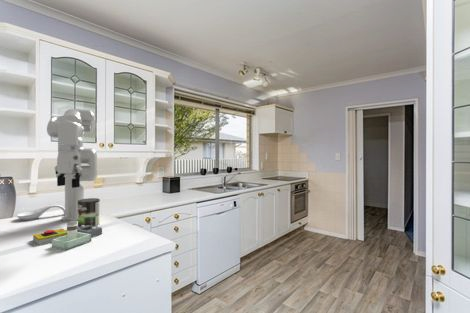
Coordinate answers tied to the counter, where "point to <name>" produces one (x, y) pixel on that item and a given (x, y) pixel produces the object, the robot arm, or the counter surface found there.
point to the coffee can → (88, 212)
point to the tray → (65, 245)
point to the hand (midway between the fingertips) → (68, 186)
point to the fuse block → (90, 230)
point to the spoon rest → (37, 212)
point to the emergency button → (47, 236)
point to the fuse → (71, 230)
